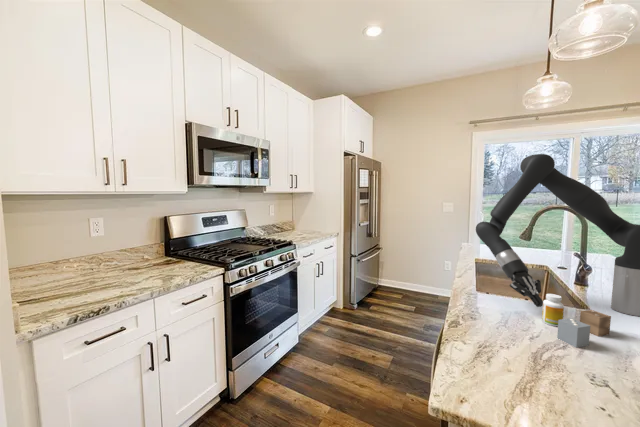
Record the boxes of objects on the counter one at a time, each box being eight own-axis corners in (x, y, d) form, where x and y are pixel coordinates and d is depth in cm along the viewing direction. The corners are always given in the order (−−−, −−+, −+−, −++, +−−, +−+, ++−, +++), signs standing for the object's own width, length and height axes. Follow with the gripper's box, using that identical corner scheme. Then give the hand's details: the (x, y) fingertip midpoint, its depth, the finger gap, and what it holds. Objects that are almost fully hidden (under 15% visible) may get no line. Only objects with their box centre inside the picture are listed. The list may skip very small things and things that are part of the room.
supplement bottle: (566, 327, 89) (569, 299, 88) (549, 326, 90) (551, 298, 89) (554, 320, 94) (556, 293, 94) (537, 319, 95) (539, 292, 94)
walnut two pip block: (590, 327, 90) (591, 309, 89) (609, 334, 85) (611, 315, 84) (579, 328, 88) (580, 310, 88) (598, 336, 84) (599, 317, 83)
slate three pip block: (569, 336, 83) (570, 317, 83) (588, 345, 78) (590, 325, 78) (557, 338, 82) (558, 319, 82) (576, 347, 77) (577, 327, 77)
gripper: (504, 259, 102) (534, 303, 91) (531, 257, 106) (563, 300, 95) (491, 269, 108) (518, 312, 97) (517, 267, 111) (546, 308, 100)
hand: (541, 306), depth 96 cm, fingers closed
